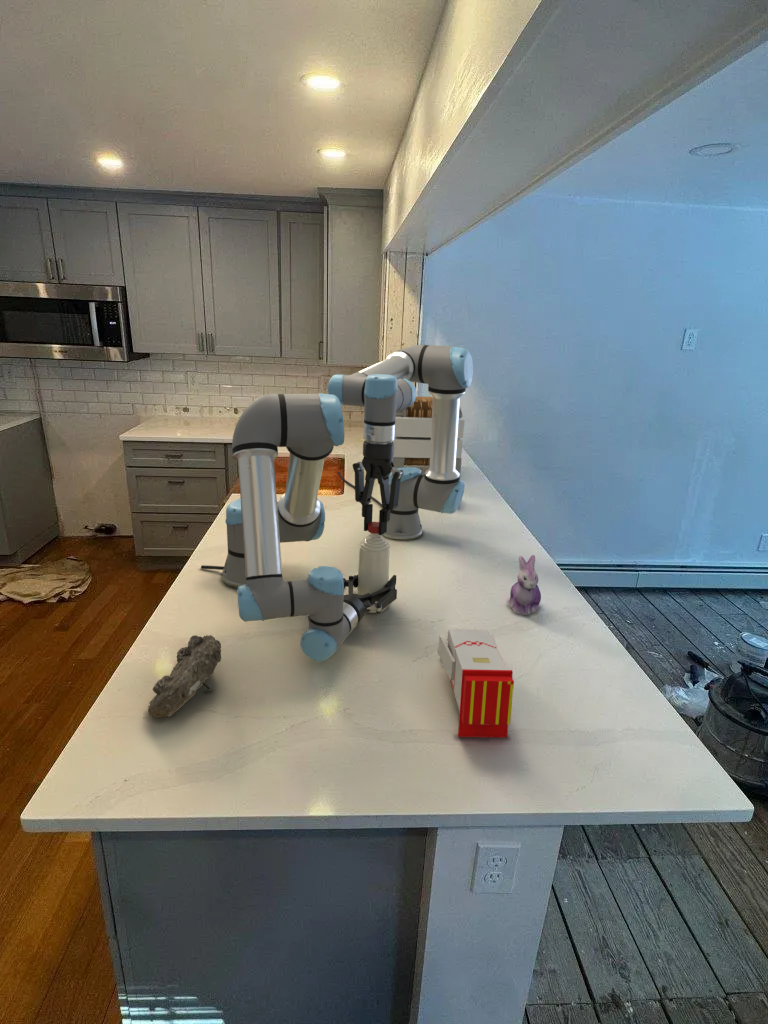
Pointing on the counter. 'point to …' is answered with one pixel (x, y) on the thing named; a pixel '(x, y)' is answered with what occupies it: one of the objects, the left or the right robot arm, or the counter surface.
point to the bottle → (373, 564)
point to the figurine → (525, 588)
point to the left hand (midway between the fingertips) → (379, 576)
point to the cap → (373, 527)
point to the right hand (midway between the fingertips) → (375, 531)
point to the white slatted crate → (419, 435)
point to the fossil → (186, 675)
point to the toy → (478, 682)
